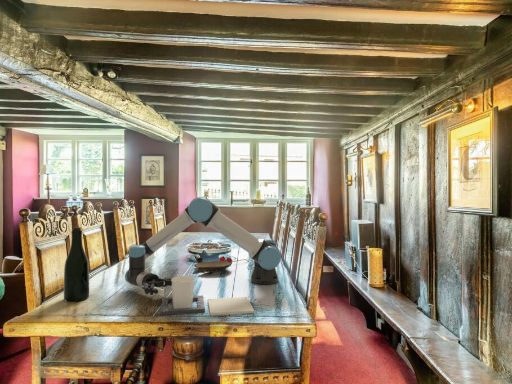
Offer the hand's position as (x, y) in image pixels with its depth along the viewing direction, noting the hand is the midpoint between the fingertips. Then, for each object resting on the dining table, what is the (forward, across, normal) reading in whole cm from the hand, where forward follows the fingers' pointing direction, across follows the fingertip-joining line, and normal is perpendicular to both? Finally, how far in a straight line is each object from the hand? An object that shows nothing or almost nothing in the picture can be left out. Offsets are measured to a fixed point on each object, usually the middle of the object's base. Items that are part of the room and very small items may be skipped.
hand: (176, 289), depth 151 cm
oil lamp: (-35, -54, -7) cm, 65 cm away
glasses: (-41, -82, -8) cm, 92 cm away
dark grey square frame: (+4, 0, -7) cm, 8 cm away
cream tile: (+20, -13, -7) cm, 25 cm away
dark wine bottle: (-42, +24, -7) cm, 49 cm away
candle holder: (+4, 0, -7) cm, 8 cm away
